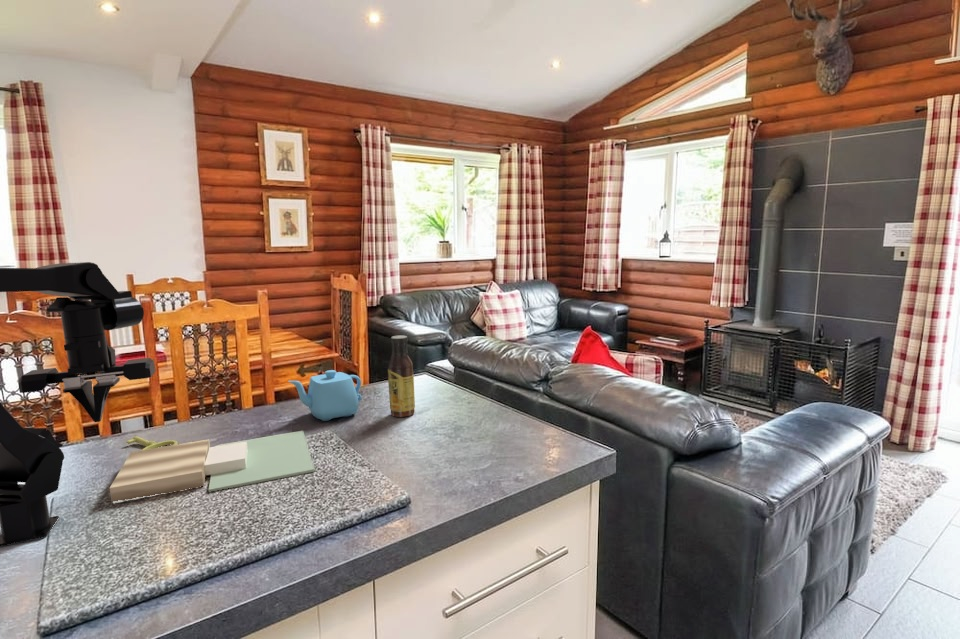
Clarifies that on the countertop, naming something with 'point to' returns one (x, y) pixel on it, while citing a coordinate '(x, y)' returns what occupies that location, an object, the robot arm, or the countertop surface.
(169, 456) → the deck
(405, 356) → the sauce bottle
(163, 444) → the key
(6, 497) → the robot arm
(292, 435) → the mat
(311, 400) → the teapot
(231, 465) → the white flat block
